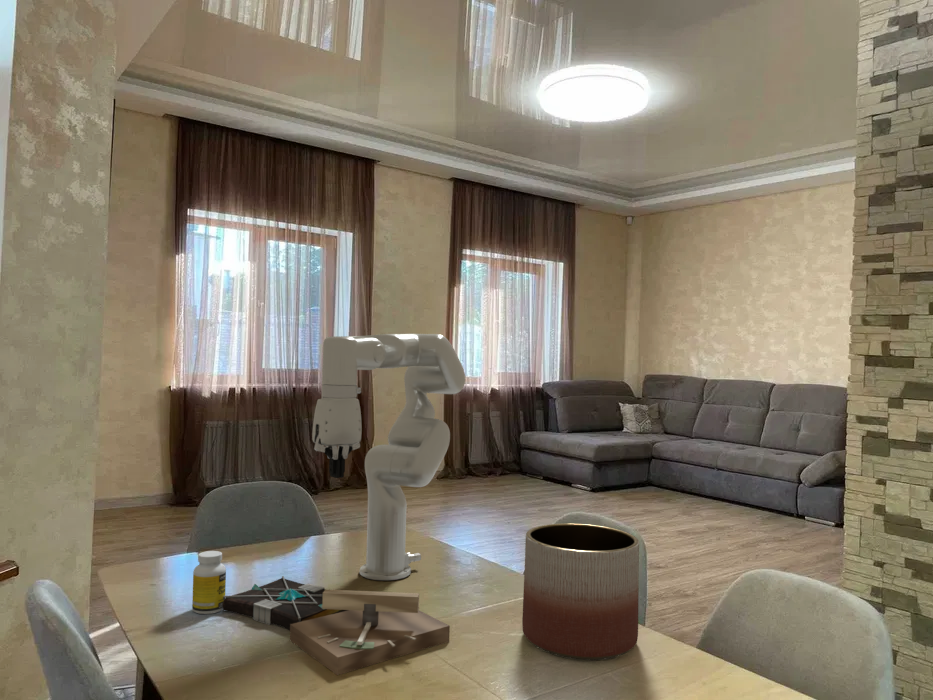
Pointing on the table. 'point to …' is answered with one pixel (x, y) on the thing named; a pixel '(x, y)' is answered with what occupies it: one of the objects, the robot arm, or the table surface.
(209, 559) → the pill bottle
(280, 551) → the table surface
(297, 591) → the book
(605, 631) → the planter
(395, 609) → the wooden lever
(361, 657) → the dial board
